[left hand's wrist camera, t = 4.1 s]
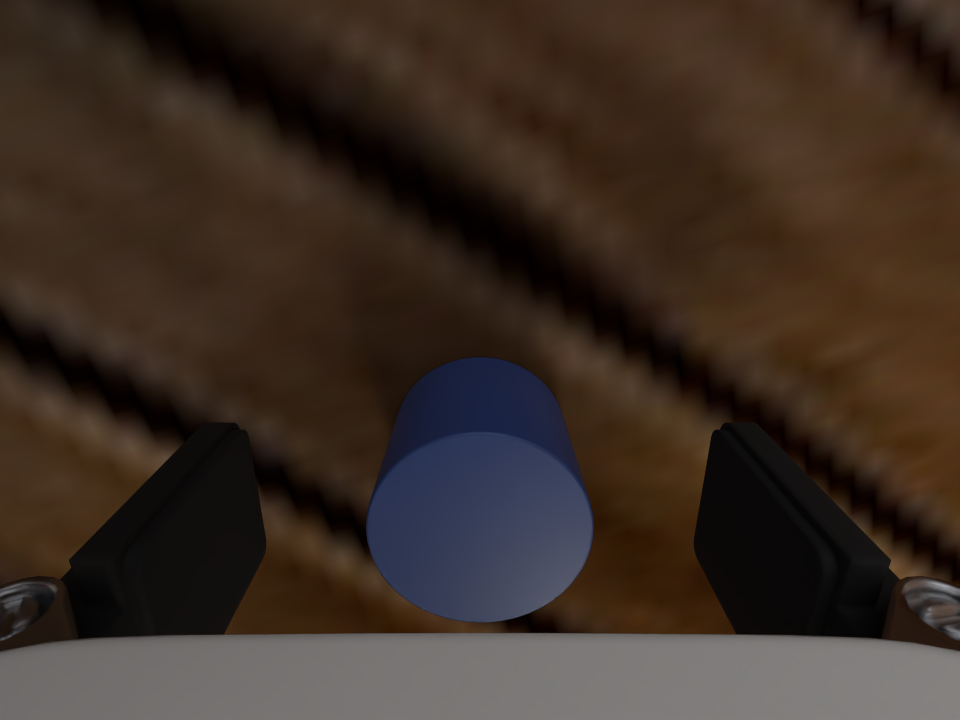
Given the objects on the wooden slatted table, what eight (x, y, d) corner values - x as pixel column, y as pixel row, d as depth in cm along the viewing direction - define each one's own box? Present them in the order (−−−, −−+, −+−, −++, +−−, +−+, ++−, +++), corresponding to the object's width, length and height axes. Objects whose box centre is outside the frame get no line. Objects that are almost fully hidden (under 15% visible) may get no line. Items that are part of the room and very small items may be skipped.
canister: (573, 360, 14) (608, 438, 10) (555, 511, 15) (581, 628, 12) (395, 351, 14) (362, 426, 10) (395, 504, 15) (367, 619, 12)
